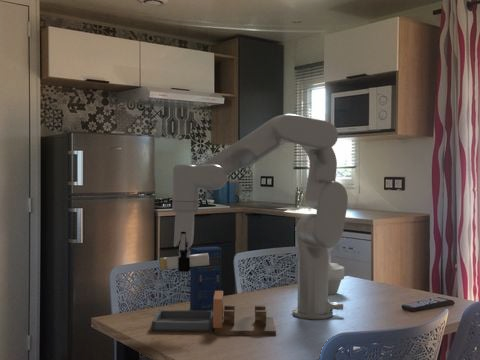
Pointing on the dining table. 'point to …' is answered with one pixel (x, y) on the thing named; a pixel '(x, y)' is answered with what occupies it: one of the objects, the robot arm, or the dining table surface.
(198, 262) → the yellow-tipped white cylinder
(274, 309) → the dining table surface
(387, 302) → the dining table surface
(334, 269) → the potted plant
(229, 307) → the cradle board
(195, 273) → the electronic device
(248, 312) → the dining table surface
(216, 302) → the orange bracket
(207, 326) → the tray
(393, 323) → the dining table surface
